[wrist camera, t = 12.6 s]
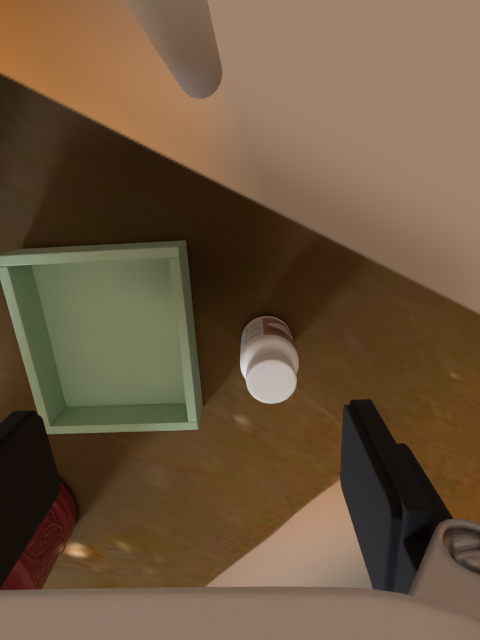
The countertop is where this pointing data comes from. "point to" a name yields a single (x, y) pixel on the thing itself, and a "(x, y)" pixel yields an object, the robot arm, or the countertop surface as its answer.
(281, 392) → the pill bottle
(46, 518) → the kitchen canister
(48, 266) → the tray
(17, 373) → the countertop surface
